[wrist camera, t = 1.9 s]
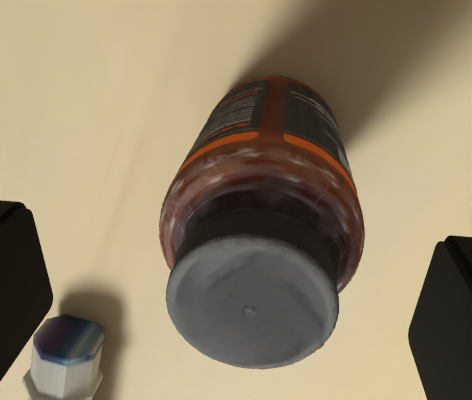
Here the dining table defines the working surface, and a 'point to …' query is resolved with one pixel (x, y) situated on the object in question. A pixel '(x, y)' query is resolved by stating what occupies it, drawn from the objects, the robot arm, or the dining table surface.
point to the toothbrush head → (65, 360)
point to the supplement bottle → (262, 228)
